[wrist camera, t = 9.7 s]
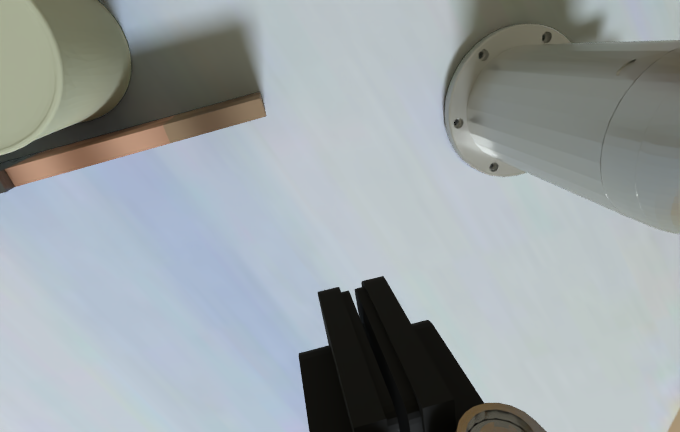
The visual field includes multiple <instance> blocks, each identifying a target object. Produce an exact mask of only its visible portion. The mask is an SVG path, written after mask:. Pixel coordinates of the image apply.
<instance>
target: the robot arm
mask: <svg viewBox="0 0 680 432" xmlns="http://www.w3.org/2000/svg"><path fill="white" fill-rule="evenodd" d="M479 52H480V57H478V56H479ZM444 114H445V125H446V130H447V134H448V137H449V141H450V142H451V144H452V146H453V148H454V150H455V152H456V153H457V154H458V155H459V157H460V158H461V159H462V160H463V161H464V162H465V163H467V164H468V165H469V166H471V167H472V168H474V169H476V170H478V171H480V172H482V173H484V174H487V175H490V176H498V177H510V176H517V175H521V174H524V173H529V174H531V175H533V176H536V177H538V178H540V179H542V180H545V181H547V182H549V183H551V184H554V185H556V186H558V187H561V188H563V189H565V190H567V191H570V192H572V193H574V194H576V195H579V196H581V197H583V198H585V199H588V200H590V201H592V202H595V203H597V204H599V205H601V206H604V207H606V208H608V209H610V210H613V211H615V212H617V213H619V214H622V215H624V216H626V217H629V218H632V219H634V220H636V221H639V222H641V223H643V224H646V225H648V226H650V227H653V228H656V229H659V230H662V231H666V232H670V233H675V234H680V40H667V41H633V42H599V43H571V42H570V41H569V40H568V39H567V38H566V37H565V36H564V35H563V34H562V33H560V32H558V31H557V30H555V29H554V28H551V27H548V26H544V25H541V24H528V23H527V24H518V25H512V26H509V27H505V28H501V29H499V30H497V31H495V32H493V33H491V34H489V35H487V36H486V37H485V38H484V39H482V40H481V41H480V42H478V43H477V44H476V45H475V46H474V47H473V48H472V49H471V50H470V51H469V52H468V53H467V54H466V56H465V57H464V58H463V60H462V61H461V63H460V64H459V66H458V67H457V69H456V71H455V73H454V75H453V78H452V80H451V82H450V84H449V88H448V92H447V96H446V102H445V113H444ZM455 120H456V123H455V124H454V121H455ZM355 295H356V301H357V307H358V312H359V315H358V313H357V310H356V308H355V305H354V303H353V300H352V297H351V295H350V292H349V291H345V292H341V291H340V288H339V287H337V288H332V289H328V290H324V291H320V292H318V297H319V301H320V306H321V311H322V315H323V320H324V325H325V329H326V334H327V339H328V344H329V346H325V347H321V348H318V349H314V350H310V351H306V352H302V353H299V361H300V368H301V375H302V382H303V389H304V396H305V403H306V410H307V417H308V424H309V431H310V432H546V431H545V430H544V429H543V428H542V427H541V426H540V425H539V424H538V423H537V422H536V421H535V420H534V419H533V418H531V417H530V416H529V415H528V414H526V413H525V412H523V411H521V410H519V409H517V408H515V407H513V406H510V405H506V404H501V403H484V402H483V401H482V399H481V398H480V396H479V395H478V393H477V392H476V390H475V388H474V387H473V385H472V384H471V382H470V381H469V379H468V378H467V376H466V375H465V373H464V372H463V370H462V369H461V367H460V366H459V364H458V362H457V361H456V359H455V358H454V356H453V355H452V353H451V352H450V350H449V349H448V347H447V346H446V344H445V343H444V341H443V339H442V338H441V336H440V335H439V333H438V332H437V330H436V329H435V327H434V326H433V324H432V323H431V322H430V321H429V320H425V321H421V322H418V323H414V324H411V323H410V321H409V320H408V318H407V316H406V314H405V313H404V311H403V309H402V307H401V306H400V304H399V302H398V300H397V299H396V297H395V295H394V293H393V292H392V290H391V288H390V287H389V285H388V283H387V281H386V280H385V278H384V277H383V276H382V277H378V278H373V279H369V280H365V281H362V287H361V288H357V289H355Z"/></svg>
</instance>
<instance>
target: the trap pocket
mask: <svg viewBox="0 0 680 432" xmlns="http://www.w3.org/2000/svg"><path fill="white" fill-rule="evenodd" d="M39 153H40V152H39ZM36 154H38V153H35V154H32V155H28V156H25V157H21V158H17V159H14V160H10V161H6V162H3V163H0V193H3V192H7V191H9V190H10V189H12V188H14V187H15V186H14V184H13V182H12V181H11V179H10V177H9V176H8V174H7V172H6V171H5V169H6V168H8V167H10V166H12V165H15V164H17V163H19V162H21V161H23V160H25V159H28V158H30V157H32V156H34V155H36Z"/></svg>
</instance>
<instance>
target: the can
mask: <svg viewBox="0 0 680 432" xmlns="http://www.w3.org/2000/svg"><path fill="white" fill-rule="evenodd" d="M130 77H131V56H130V51H129V47H128V43H127V41H126V38H125V36H124V34H123V32H122V30H121V28H120V26H119V24H118V23H117V21H116V20H115V18H114V17H113V16H112V15H111V13H110V12H109V11H108V10H107V9H106V8H105V7H104V6H103V5H102V4H101V3H100V2H99V1H98V0H0V155H4V154H7V153H10V152H13V151H16V150H18V149H20V148H22V147H24V146H26V145H28V144H29V143H31V142H32V141H34V140H37V139H39V138H41V137H44V136H46V135H48V134H51V133H53V132H56V131H58V130H61V129H63V128H66V127H68V126H71V125H73V124H76V123H79V122H86V121H90V120H93V119H96V118H99V117H101V116H103V115H105V114H106V113H108V112H109V111H110V110H112V109H113V108H114V107H115V106H116V105H117V104H118V103H119V102H120V100H121V99H122V98H123V96H124V94H125V92H126V90H127V88H128V85H129V81H130Z"/></svg>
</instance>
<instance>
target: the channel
mask: <svg viewBox="0 0 680 432" xmlns="http://www.w3.org/2000/svg"><path fill="white" fill-rule="evenodd" d="M265 116H266V112H265V107H264V103H263V100H262V97H261V94H260V92H257V93H253V94H249V95H246V96H242V97H239V98H235V99H231V100H228V101H224V102H220V103H217V104H213V105H210V106H206V107H202V108H199V109H195V110H191V111H188V112H184V113H181V114H177V115H173V116H170V117H166V118H162V119H159V120H155V121H152V122H148V123H144V124H141V125H137V126H133V127H130V128H126V129H123V130H119V131H115V132H112V133H108V134H104V135H101V136H97V137H93V138H90V139H86V140H83V141H79V142H75V143H72V144H68V145H64V146H61V147H57V148H54V149H50V150H46V151H43V152H40V153H38V154H36V155H34V156H32V157H30V158H28V159H25V160H23V161H21V162H19V163H17V164H15V165H12V166H10V167H8V168H6V169H5V171H6V172H7V174H8V176H9V177H10V179H11V181H12V182H13V184H14V186H15V187H16V186H20V185H23V184H27V183H30V182H34V181H38V180H41V179H45V178H48V177H52V176H55V175H59V174H62V173H66V172H70V171H73V170H77V169H80V168H84V167H87V166H91V165H94V164H98V163H102V162H105V161H109V160H112V159H116V158H119V157H123V156H126V155H130V154H134V153H137V152H141V151H144V150H148V149H151V148H155V147H158V146H162V145H166V144H169V143H173V142H176V141H180V140H183V139H187V138H190V137H194V136H198V135H201V134H205V133H208V132H212V131H215V130H219V129H223V128H226V127H230V126H233V125H237V124H240V123H244V122H247V121H251V120H255V119H258V118H262V117H265Z"/></svg>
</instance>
